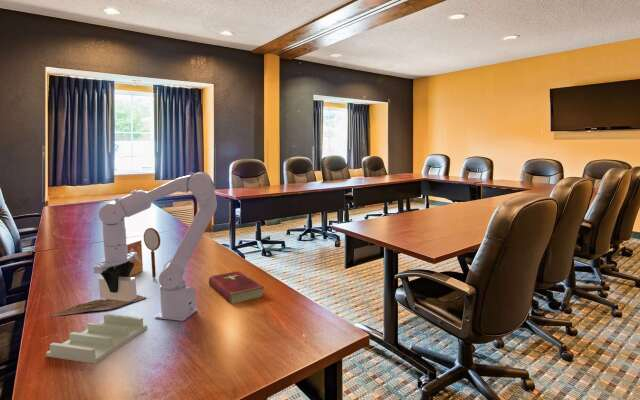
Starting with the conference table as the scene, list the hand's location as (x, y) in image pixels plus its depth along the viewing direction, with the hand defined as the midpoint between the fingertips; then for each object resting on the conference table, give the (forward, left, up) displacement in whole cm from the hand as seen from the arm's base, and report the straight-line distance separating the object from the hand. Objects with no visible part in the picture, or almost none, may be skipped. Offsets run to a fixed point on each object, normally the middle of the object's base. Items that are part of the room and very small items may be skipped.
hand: (118, 289), depth 112 cm
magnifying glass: (+13, -33, -9) cm, 36 cm away
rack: (-4, +12, -9) cm, 16 cm away
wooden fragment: (+13, -7, -10) cm, 17 cm away
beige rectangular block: (0, 0, -2) cm, 3 cm away
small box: (+27, -37, -9) cm, 46 cm away
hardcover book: (-23, -29, -10) cm, 38 cm away
